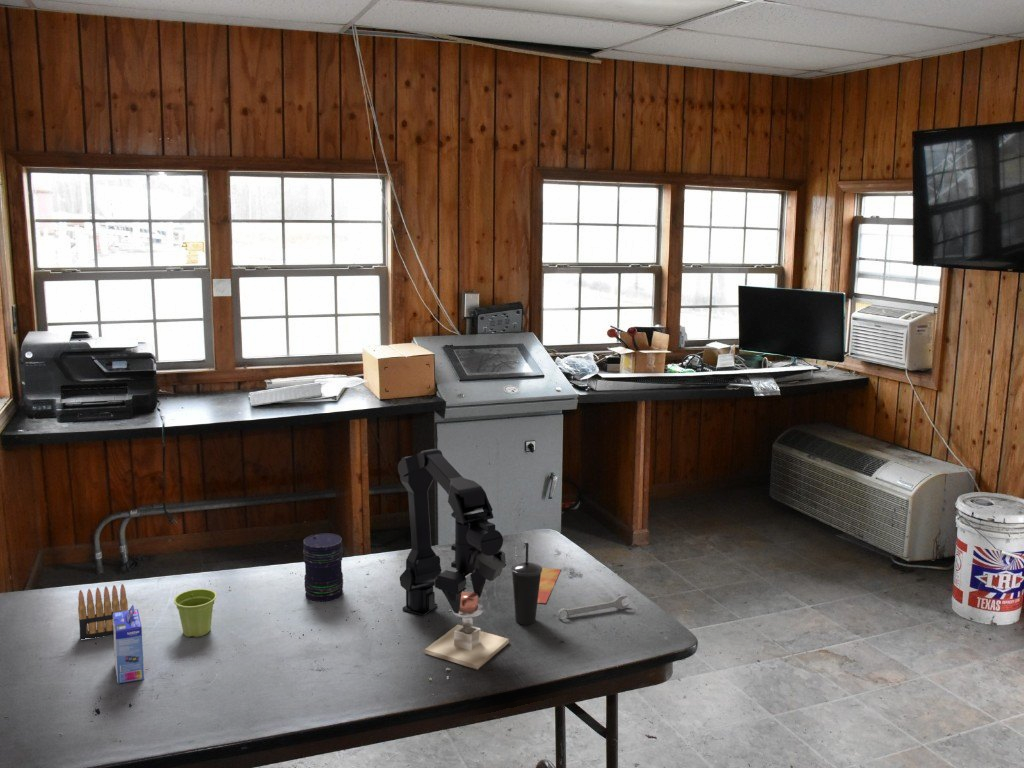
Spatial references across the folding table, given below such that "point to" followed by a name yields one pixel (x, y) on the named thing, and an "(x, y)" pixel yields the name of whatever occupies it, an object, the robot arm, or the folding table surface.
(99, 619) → the ammunition clip
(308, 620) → the folding table surface
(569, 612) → the combination wrench
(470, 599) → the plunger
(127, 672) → the ink cartridge box
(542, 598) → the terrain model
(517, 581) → the drinking cup
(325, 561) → the storage jar
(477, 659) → the stand
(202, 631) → the plant pot
